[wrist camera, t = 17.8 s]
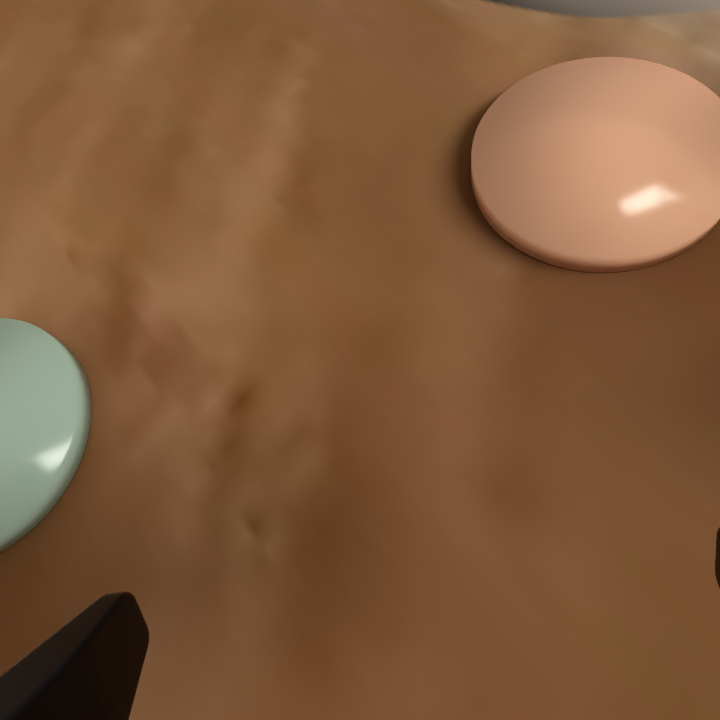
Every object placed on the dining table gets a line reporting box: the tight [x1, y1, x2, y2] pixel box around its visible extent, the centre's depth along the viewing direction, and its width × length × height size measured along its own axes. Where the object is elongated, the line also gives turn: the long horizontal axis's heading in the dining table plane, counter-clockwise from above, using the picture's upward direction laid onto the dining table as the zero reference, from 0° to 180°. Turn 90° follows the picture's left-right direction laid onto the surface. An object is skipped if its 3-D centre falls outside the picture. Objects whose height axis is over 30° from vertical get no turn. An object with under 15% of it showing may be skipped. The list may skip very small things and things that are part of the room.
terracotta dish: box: [471, 57, 720, 273], centre depth 26 cm, size 12×12×1 cm
